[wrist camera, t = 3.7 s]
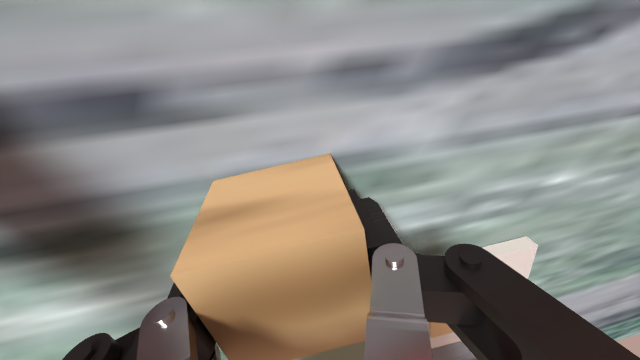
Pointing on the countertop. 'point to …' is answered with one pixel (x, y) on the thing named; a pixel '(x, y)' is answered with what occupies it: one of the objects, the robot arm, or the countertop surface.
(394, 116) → the countertop surface
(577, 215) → the countertop surface
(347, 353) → the sage block
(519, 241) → the tile
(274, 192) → the maple block
